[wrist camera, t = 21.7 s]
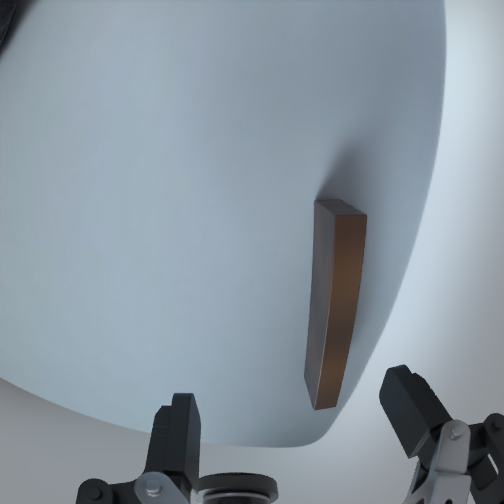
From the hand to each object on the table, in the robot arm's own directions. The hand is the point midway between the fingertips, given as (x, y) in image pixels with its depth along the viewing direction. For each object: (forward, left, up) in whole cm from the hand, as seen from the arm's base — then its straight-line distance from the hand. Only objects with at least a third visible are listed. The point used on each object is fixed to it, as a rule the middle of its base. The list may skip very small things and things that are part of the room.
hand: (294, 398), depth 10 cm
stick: (0, -3, -8) cm, 8 cm away
